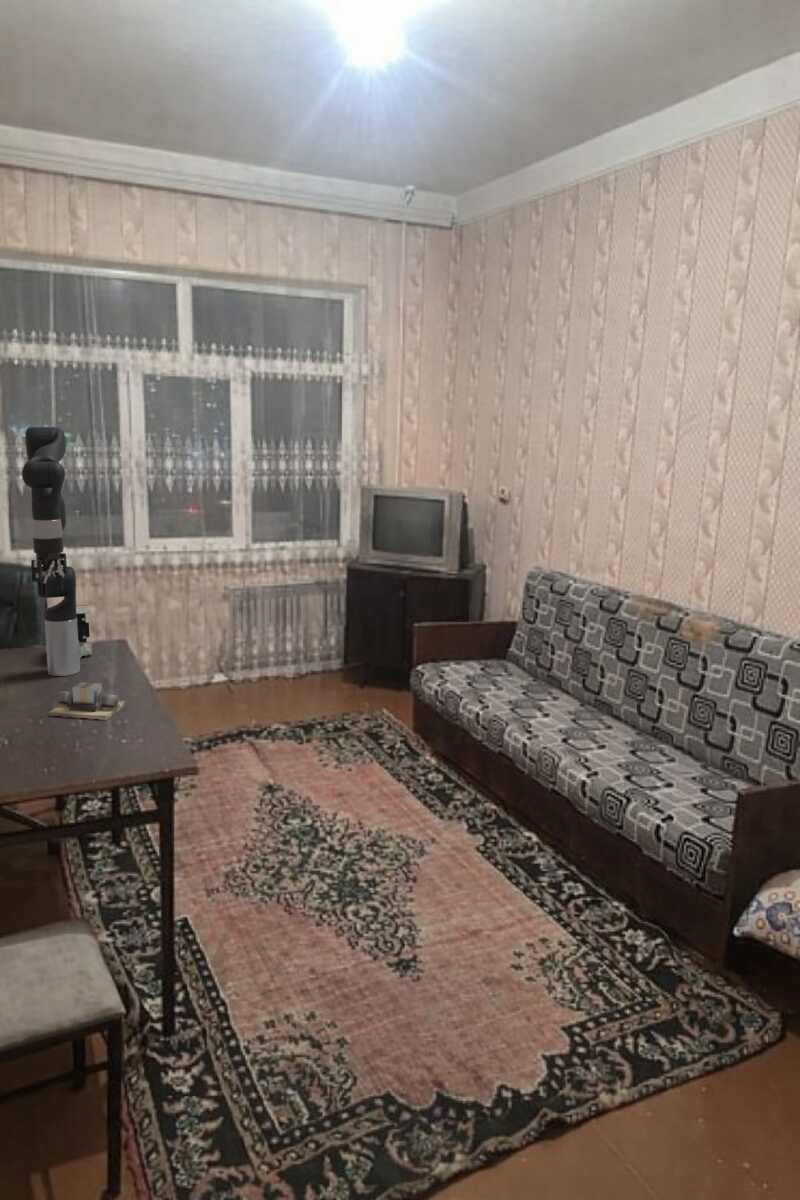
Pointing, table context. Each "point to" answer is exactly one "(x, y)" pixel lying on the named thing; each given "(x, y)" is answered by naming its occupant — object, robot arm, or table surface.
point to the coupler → (87, 694)
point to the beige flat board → (87, 706)
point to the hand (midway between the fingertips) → (51, 593)
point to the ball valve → (83, 629)
